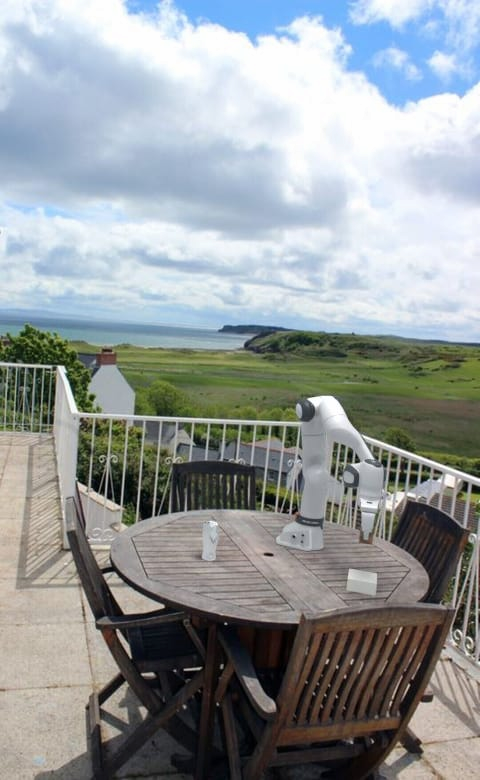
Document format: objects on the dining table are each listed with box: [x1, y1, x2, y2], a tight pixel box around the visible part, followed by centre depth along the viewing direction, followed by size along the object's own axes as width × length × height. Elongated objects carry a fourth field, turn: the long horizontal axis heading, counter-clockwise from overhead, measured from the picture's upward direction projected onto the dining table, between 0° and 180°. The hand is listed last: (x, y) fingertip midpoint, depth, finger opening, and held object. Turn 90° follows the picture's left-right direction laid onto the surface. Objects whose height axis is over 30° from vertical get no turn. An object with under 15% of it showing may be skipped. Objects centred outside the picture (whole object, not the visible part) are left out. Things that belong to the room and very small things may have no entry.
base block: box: [346, 568, 378, 596], centre depth 221 cm, size 11×11×5 cm
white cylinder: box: [201, 520, 220, 562], centre depth 237 cm, size 7×7×15 cm
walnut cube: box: [358, 525, 374, 546], centre depth 220 cm, size 5×5×5 cm
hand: (365, 536), depth 220 cm, fingers closed on walnut cube, 5 cm apart
